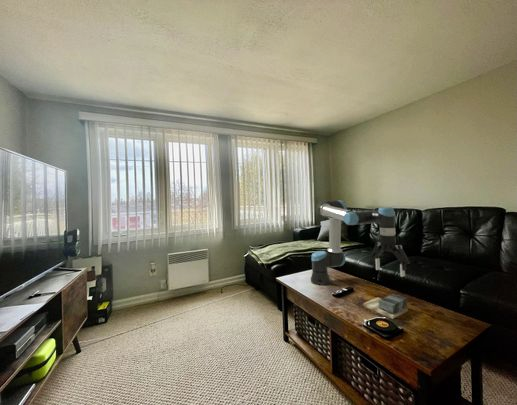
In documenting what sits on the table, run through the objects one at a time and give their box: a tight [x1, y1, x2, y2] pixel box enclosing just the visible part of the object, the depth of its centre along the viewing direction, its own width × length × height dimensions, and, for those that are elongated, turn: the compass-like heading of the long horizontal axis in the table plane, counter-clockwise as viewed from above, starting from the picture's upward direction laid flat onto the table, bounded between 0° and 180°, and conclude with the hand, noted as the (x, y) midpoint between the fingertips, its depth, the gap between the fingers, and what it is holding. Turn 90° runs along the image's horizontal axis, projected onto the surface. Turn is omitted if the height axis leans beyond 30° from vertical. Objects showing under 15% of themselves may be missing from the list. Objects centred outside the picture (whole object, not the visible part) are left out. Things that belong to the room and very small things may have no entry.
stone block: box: [379, 293, 408, 314], centre depth 117 cm, size 9×14×5 cm, turn 119°
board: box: [362, 297, 409, 320], centre depth 119 cm, size 17×14×2 cm
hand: (389, 272), depth 116 cm, fingers open, 13 cm apart
